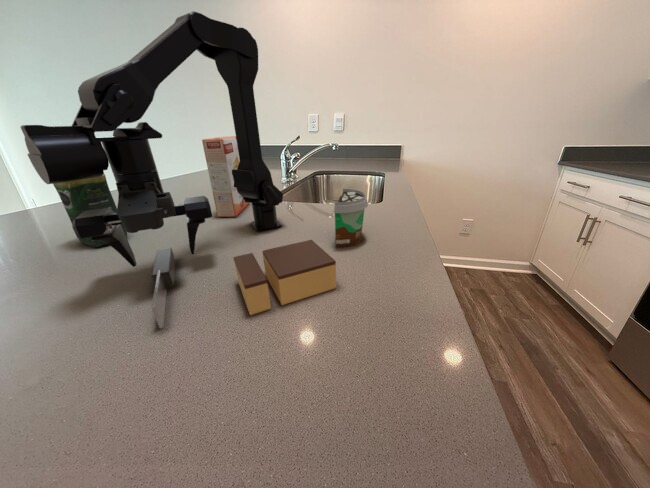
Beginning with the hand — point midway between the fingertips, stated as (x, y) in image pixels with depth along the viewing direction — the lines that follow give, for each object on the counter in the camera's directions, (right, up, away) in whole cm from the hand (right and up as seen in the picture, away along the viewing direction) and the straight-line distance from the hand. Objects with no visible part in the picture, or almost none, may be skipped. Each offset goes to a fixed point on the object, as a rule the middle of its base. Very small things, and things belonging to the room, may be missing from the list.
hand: (165, 259), depth 47 cm
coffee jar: (-23, +4, +14) cm, 27 cm away
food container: (+35, +4, +11) cm, 37 cm away
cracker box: (+1, +13, +33) cm, 35 cm away
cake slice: (+18, -5, -7) cm, 20 cm away
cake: (+25, -3, -4) cm, 25 cm away
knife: (+3, -5, -5) cm, 7 cm away
